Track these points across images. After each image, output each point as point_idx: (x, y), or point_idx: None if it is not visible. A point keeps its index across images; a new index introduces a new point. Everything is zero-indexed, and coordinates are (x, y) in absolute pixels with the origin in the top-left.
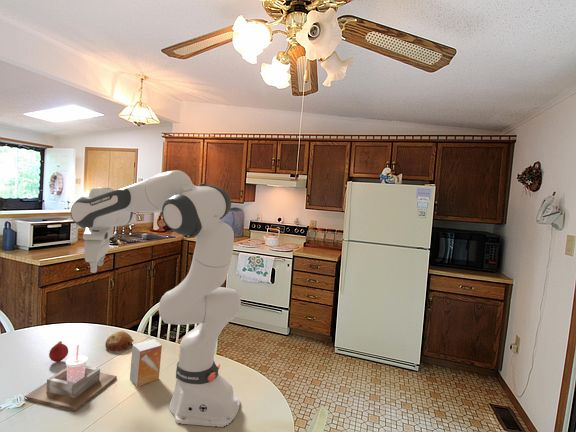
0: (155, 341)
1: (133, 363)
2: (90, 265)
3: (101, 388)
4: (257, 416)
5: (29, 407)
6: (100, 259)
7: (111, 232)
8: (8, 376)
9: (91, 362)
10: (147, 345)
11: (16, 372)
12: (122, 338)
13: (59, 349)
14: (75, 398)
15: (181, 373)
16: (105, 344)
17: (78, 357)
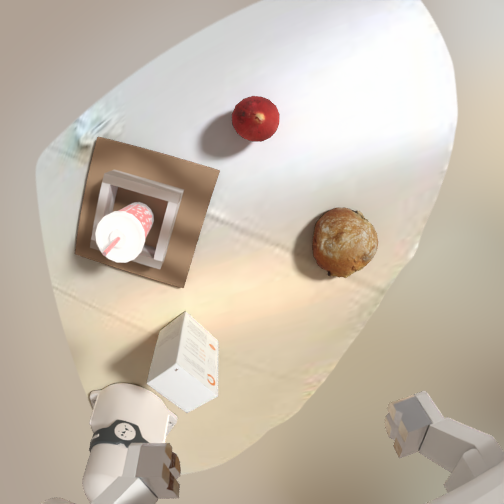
0: (202, 401)
1: (170, 342)
2: (100, 497)
3: (137, 273)
4: None
5: (78, 163)
6: (437, 444)
7: None
8: (183, 48)
9: (254, 202)
10: (177, 391)
11: (201, 53)
12: (332, 262)
13: (242, 125)
14: None
15: (91, 441)
16: (332, 210)
17: (132, 235)
